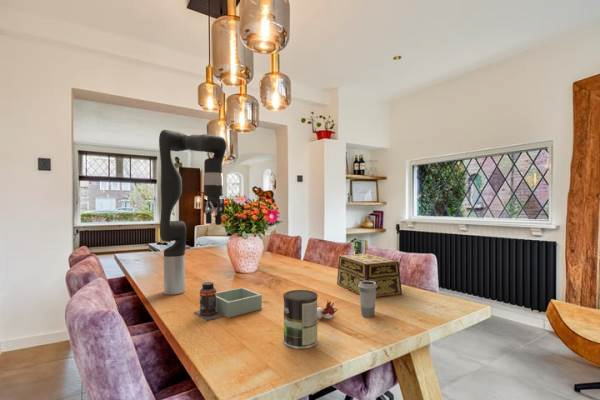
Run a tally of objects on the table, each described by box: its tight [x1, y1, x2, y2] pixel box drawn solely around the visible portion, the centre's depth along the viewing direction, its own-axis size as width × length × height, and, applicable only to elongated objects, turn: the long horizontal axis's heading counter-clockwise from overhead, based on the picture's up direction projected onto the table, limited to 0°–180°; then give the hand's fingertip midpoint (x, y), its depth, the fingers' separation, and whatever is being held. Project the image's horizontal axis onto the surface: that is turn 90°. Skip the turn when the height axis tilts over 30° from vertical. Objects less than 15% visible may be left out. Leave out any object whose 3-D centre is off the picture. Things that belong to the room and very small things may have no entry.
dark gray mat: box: [193, 310, 225, 322], centre depth 119 cm, size 11×7×1 cm, turn 41°
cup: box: [358, 281, 377, 318], centre depth 118 cm, size 7×7×12 cm
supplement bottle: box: [199, 281, 217, 316], centre depth 119 cm, size 6×6×11 cm
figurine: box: [317, 300, 339, 320], centre depth 115 cm, size 15×12×7 cm
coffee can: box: [283, 289, 318, 350], centre depth 96 cm, size 10×10×14 cm
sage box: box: [216, 287, 263, 319], centre depth 126 cm, size 15×15×6 cm
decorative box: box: [336, 253, 403, 299], centre depth 153 cm, size 28×19×15 cm
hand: (213, 224), depth 130 cm, fingers open, 8 cm apart
